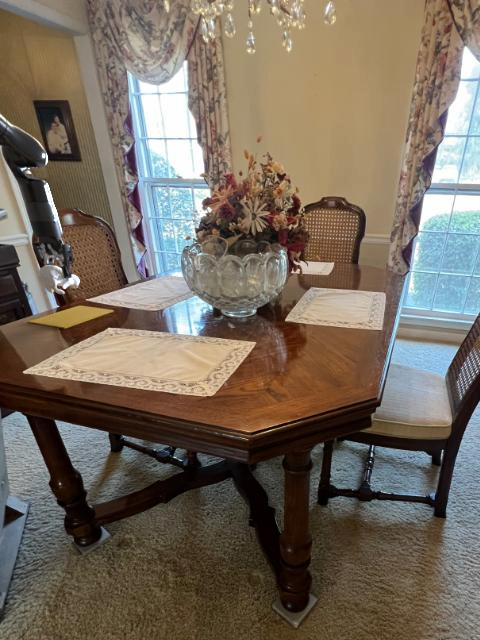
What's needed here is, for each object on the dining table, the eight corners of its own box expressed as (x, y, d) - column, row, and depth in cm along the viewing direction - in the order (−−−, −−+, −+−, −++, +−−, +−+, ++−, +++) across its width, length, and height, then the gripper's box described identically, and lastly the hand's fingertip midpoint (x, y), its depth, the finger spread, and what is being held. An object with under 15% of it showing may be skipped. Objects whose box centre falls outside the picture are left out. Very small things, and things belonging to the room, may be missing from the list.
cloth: (65, 328, 117) (64, 327, 117) (28, 322, 122) (27, 321, 122) (114, 311, 133) (113, 310, 133) (80, 306, 138) (79, 305, 138)
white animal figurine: (33, 265, 115) (67, 262, 125) (40, 294, 119) (72, 289, 129) (48, 266, 113) (82, 264, 124) (55, 295, 117) (87, 290, 127)
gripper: (15, 218, 112) (34, 277, 120) (50, 220, 107) (67, 281, 116) (38, 217, 118) (55, 273, 126) (72, 218, 113) (88, 277, 122)
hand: (61, 277), depth 121 cm, fingers closed on white animal figurine, 5 cm apart
